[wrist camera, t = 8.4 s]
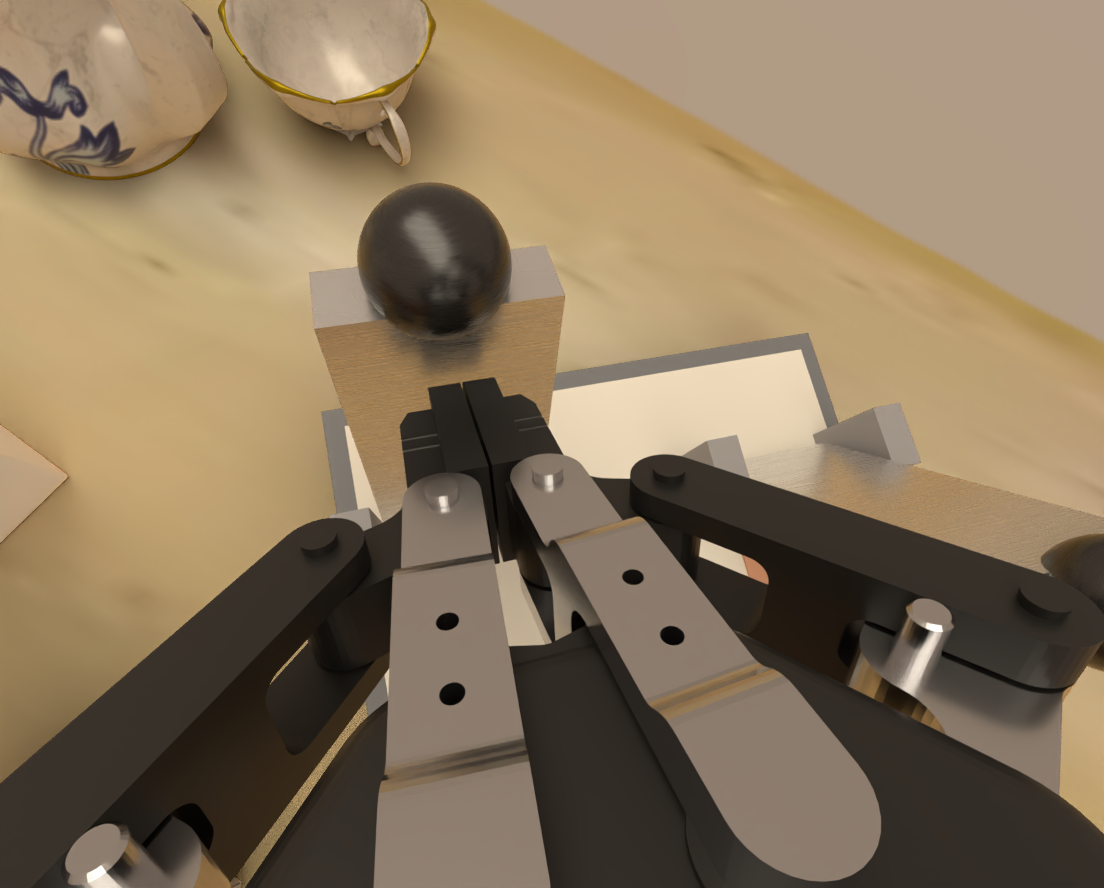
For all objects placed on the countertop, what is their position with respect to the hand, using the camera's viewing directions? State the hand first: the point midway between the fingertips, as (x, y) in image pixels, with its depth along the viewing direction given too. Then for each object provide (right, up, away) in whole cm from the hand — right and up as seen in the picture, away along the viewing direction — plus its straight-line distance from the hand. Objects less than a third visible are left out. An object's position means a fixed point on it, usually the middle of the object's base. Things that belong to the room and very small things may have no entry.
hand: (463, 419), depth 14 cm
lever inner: (+11, -2, +12) cm, 16 cm away
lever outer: (-1, -4, +9) cm, 10 cm away
